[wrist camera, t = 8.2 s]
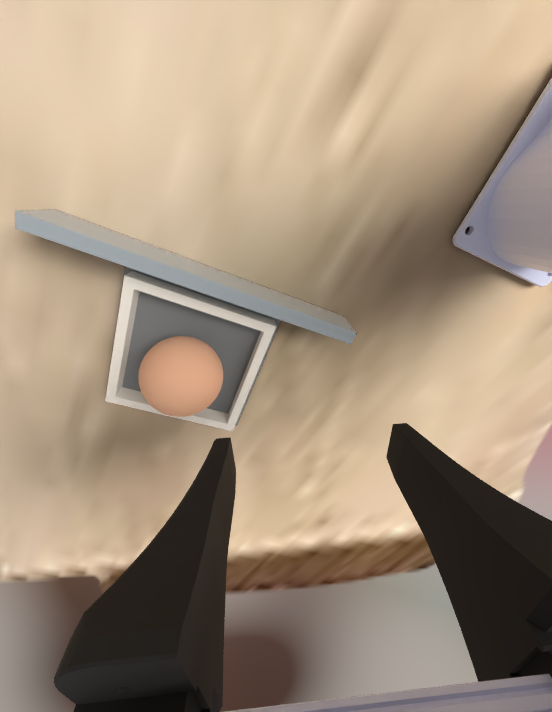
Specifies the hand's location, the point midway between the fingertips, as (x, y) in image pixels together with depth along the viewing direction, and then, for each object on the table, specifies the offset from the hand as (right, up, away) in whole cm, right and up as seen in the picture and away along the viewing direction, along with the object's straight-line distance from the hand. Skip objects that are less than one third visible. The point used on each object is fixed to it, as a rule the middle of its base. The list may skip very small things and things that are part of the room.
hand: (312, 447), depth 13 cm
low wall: (-5, +9, +5) cm, 12 cm away
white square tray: (-8, +4, +8) cm, 12 cm away
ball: (-7, +3, +5) cm, 9 cm away
